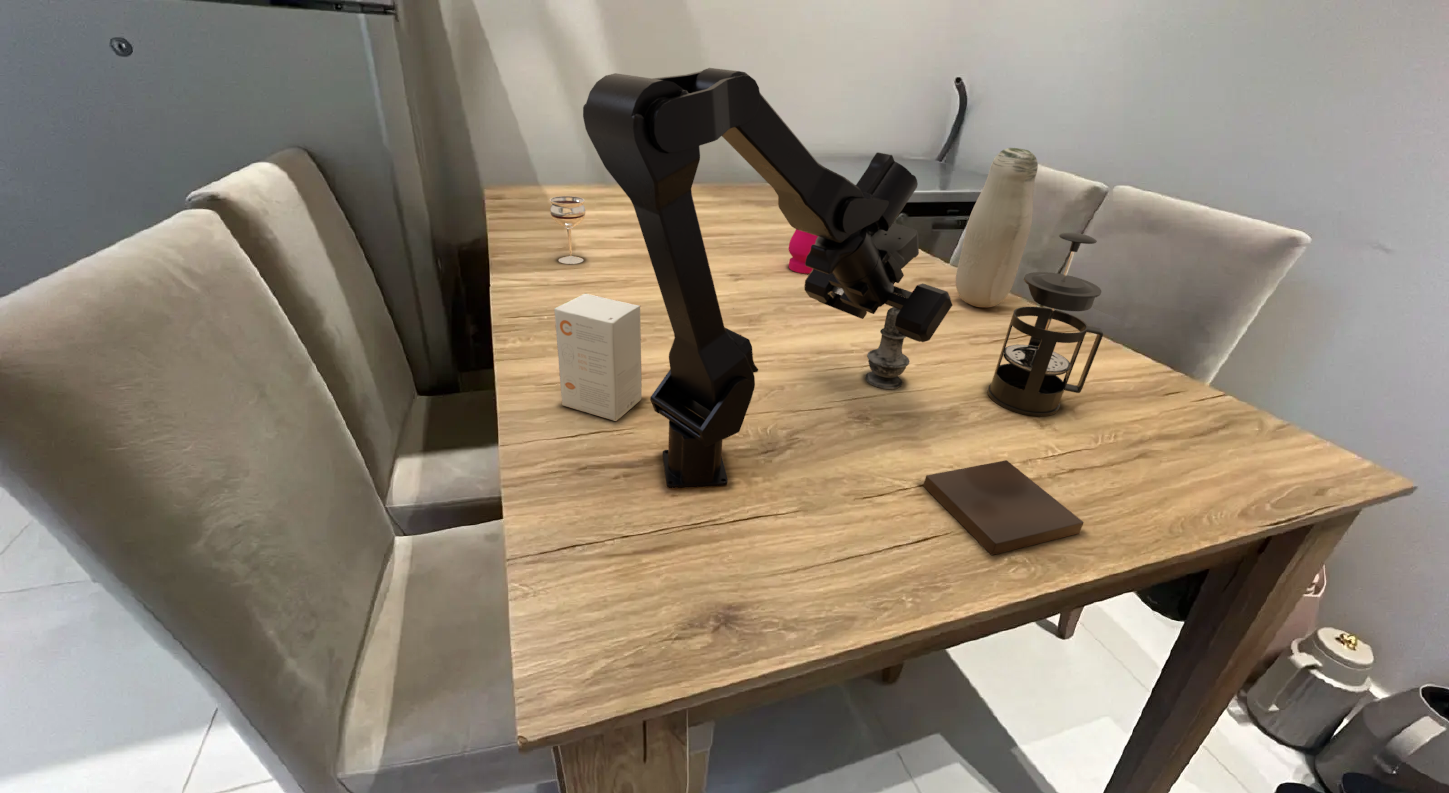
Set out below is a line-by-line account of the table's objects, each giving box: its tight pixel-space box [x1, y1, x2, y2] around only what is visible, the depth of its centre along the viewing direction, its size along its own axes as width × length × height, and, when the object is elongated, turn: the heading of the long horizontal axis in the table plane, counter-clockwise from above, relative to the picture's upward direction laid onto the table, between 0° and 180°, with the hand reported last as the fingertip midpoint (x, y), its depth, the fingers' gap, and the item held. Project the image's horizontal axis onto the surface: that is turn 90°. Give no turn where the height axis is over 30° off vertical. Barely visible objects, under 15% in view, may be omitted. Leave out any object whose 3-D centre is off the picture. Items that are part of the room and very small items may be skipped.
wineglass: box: [549, 195, 586, 265], centre depth 125 cm, size 7×7×12 cm
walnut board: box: [923, 459, 1085, 556], centre depth 65 cm, size 11×11×2 cm
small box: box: [553, 293, 643, 422], centre depth 76 cm, size 8×6×13 cm
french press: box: [986, 232, 1104, 417], centre depth 82 cm, size 12×9×23 cm
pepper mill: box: [788, 229, 818, 274], centre depth 127 cm, size 7×7×20 cm
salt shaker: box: [864, 307, 911, 390], centre depth 87 cm, size 6×6×12 cm
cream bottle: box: [955, 147, 1039, 308], centre depth 113 cm, size 10×10×28 cm
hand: (891, 326), depth 85 cm, fingers open, 9 cm apart
